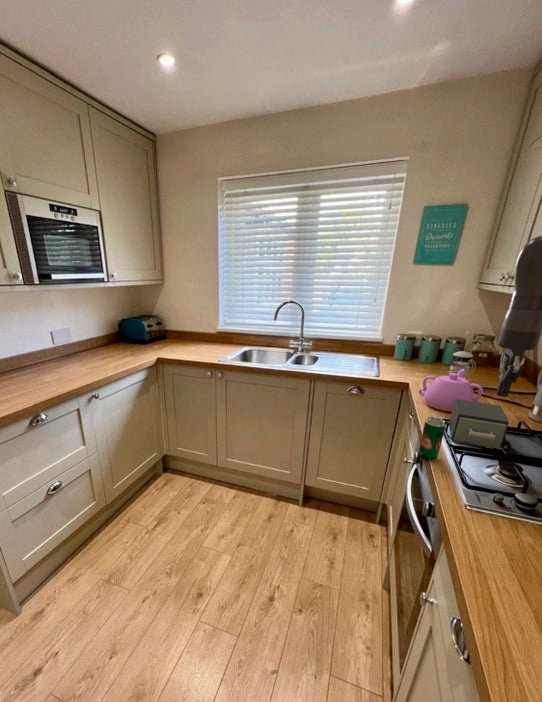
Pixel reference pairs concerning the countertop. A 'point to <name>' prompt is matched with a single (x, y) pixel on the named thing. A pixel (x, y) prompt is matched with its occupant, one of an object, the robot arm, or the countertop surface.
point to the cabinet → (476, 415)
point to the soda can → (431, 438)
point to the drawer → (480, 432)
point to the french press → (460, 364)
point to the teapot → (449, 391)
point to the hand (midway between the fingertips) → (501, 395)
